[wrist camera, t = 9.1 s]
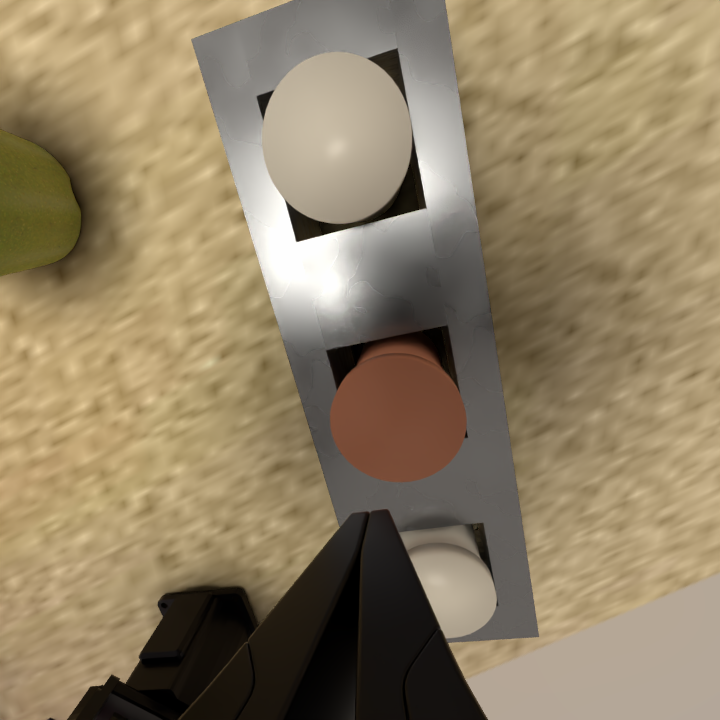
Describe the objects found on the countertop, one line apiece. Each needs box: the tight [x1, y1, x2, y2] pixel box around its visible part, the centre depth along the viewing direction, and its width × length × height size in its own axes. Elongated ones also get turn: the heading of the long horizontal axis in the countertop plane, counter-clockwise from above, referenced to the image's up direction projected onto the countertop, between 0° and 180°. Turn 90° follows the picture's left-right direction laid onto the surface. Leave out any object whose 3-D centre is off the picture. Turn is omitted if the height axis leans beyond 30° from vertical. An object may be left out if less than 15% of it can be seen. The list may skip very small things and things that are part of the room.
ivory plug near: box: [262, 52, 412, 224], centre depth 15 cm, size 5×5×6 cm
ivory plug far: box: [399, 524, 497, 638], centre depth 19 cm, size 5×5×6 cm
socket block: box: [191, 0, 539, 643], centre depth 18 cm, size 27×8×5 cm, turn 14°
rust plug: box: [330, 331, 467, 482], centre depth 16 cm, size 5×5×6 cm
